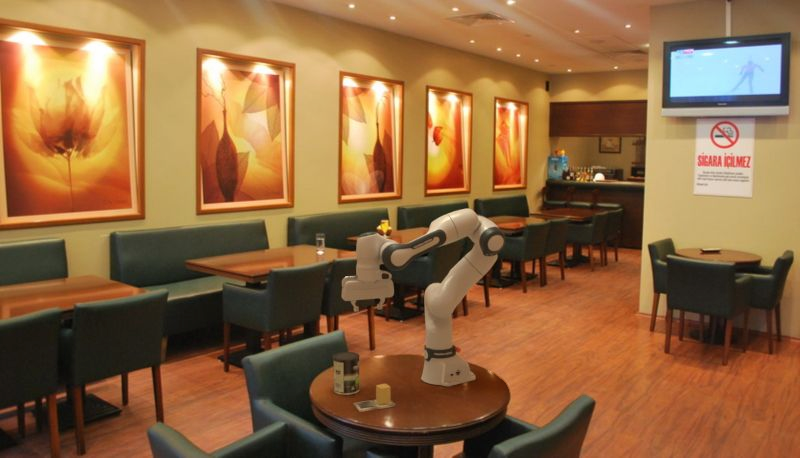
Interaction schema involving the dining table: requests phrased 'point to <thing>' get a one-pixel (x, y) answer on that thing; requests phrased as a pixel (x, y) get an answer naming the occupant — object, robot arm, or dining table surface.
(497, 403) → the dining table surface
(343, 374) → the coffee can
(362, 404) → the banknote
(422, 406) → the dining table surface
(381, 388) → the yellow rectangular block
